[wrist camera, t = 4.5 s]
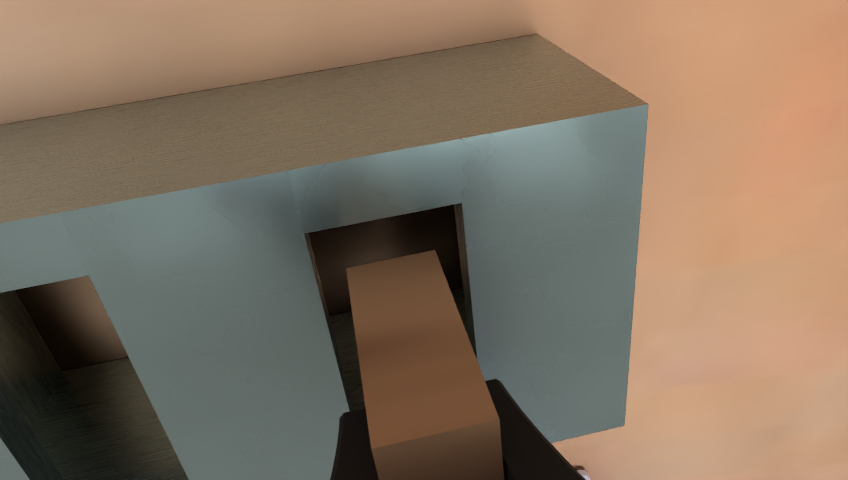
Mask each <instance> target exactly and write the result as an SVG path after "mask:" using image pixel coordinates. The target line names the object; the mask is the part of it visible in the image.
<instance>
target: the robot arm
mask: <svg viewBox="0 0 848 480" xmlns="http://www.w3.org/2000/svg"><path fill="white" fill-rule="evenodd" d="M485 383H486V385H487V388H488V390H489V393H490V396H491V398H492V401H493V404H494V406H495V409H496V411H497V414H498V417H499V420H500V433H501V446H502V458H503V471H504V480H590V477H589V475H588V473H587V471H585V470H576V469H575V468H574V467H573V466H572V465H571V464H570V463H569V462H568V461H567V460H566V459H565V458H564V457H563V456H562V455H561V454H560V453H559V452H558V451H557V450H556V449H555V447H554V446H553V445H552V444H551V443H550V442H549V441H548V440H547V439H546V438H545V437H544V436H543V434H542V433H541V432H540V431H539V430H538V429H537V428H536V426H535V425H534V424H533V423H532V422H531V420H530V419H529V418H528V417H527V416H526V414H525V413H524V412H523V411H522V409H521V408H520V407H519V406H518V404H517V403H516V402H515V400H514V399H513V398H512V396H511V395H510V394H509V392H508V391H507V390H506V388H505V387H504V385H503V384H502V382H501V381H499V380H497V379H492V380H488V381H485ZM330 480H379V478H378V474H377V470H376V466H375V462H374V458H373V454H372V450H371V443H370V436H369V429H368V422H367V415H366V408H363V409H358V410H354V411H349V412H345V413H343V414H342V416H341V417H340V418H339V432H338V440H337V447H336V453H335V458H334V463H333V468H332V473H331V478H330Z"/></svg>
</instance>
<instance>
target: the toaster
mask: <svg viewBox="0 0 848 480" xmlns="http://www.w3.org/2000/svg"><path fill="white" fill-rule="evenodd" d="M647 117H648V103H646V102H644V101H643V100H641V99H640V98H638V97H636V96H635V95H633V94H632V93H630V92H629V91H627V90H625V89H624V88H622V87H621V86H619V85H617V84H616V83H614V82H613V81H611V80H610V79H608V78H606V77H605V76H603V75H602V74H600V73H599V72H597V71H595V70H594V69H592V68H591V67H589V66H587V65H586V64H584V63H583V62H581V61H580V60H578V59H576V58H575V57H573V56H572V55H570V54H569V53H567V52H565V51H564V50H562V49H561V48H559V47H557V46H556V45H554V44H553V43H551V42H550V41H548V40H546V39H545V38H543V37H542V36H540V35H539V34H535V35H529V36H524V37H518V38H512V39H506V40H500V41H494V42H488V43H482V44H476V45H471V46H465V47H459V48H453V49H447V50H441V51H435V52H429V53H423V54H417V55H412V56H406V57H400V58H394V59H388V60H382V61H376V62H370V63H364V64H359V65H353V66H347V67H341V68H335V69H329V70H323V71H317V72H311V73H305V74H300V75H294V76H288V77H282V78H276V79H270V80H264V81H258V82H252V83H246V84H241V85H235V86H229V87H223V88H217V89H211V90H205V91H199V92H193V93H188V94H182V95H176V96H170V97H164V98H158V99H152V100H146V101H140V102H134V103H129V104H123V105H117V106H111V107H105V108H99V109H93V110H87V111H81V112H76V113H70V114H64V115H58V116H52V117H46V118H40V119H34V120H28V121H22V122H17V123H11V124H5V125H0V480H330V478H331V473H332V468H333V463H334V458H335V453H336V447H337V440H338V432H339V418H340V417H341V416H342V414H343V413H345V412H349V411H354V410H358V409H363V408H366V407H365V400H364V393H363V386H362V379H361V372H360V365H359V358H358V350H357V343H356V336H355V329H354V322H353V315H352V311H351V312H346V313H341V314H336V315H331V316H329V313H328V309H327V305H326V301H325V297H324V293H323V289H322V285H321V281H320V277H319V273H318V269H317V265H316V261H315V257H314V253H313V249H312V245H311V241H310V237H309V233H310V232H315V231H320V230H325V229H330V228H336V227H341V226H346V225H351V224H356V223H361V222H366V221H372V220H377V219H382V218H387V217H392V216H397V215H402V214H408V213H413V212H418V211H423V210H428V209H433V208H438V207H444V206H449V205H454V208H455V218H456V227H457V237H458V246H459V256H460V265H461V275H462V284H463V288H461V289H456V290H452V291H451V293H452V296H453V298H454V301H455V304H456V306H457V309H458V312H459V314H460V317H461V319H462V322H463V325H464V327H465V330H466V333H467V335H468V338H469V340H470V343H471V346H472V348H473V351H474V354H475V356H476V359H477V362H478V364H479V367H480V369H481V372H482V375H483V377H484V380H485V381H488V380H492V379H497V380H499V381H501V382H502V384H503V385H504V387H505V388H506V390H507V391H508V392H509V394H510V395H511V396H512V398H513V399H514V400H515V402H516V403H517V404H518V406H519V407H520V408H521V409H522V411H523V412H524V413H525V414H526V416H527V417H528V418H529V419H530V420H531V422H532V423H533V424H534V425H535V426H536V428H537V429H538V430H539V431H540V432H541V433H542V434H543V436H544V437H545V438H546V439H547V440H548V441H549V442H550V443H553V442H557V441H561V440H566V439H570V438H574V437H578V436H583V435H587V434H591V433H595V432H600V431H604V430H608V429H612V428H616V427H621V426H624V424H625V411H626V397H627V384H628V371H629V357H630V344H631V330H632V317H633V304H634V290H635V277H636V264H637V250H638V237H639V224H640V210H641V197H642V184H643V170H644V157H645V144H646V130H647ZM84 276H89V277H90V279H91V281H92V283H93V285H94V287H95V289H96V292H97V294H98V296H99V298H100V300H101V302H102V304H103V306H104V308H105V310H106V312H107V314H108V316H109V318H110V320H111V322H112V324H113V326H114V328H115V330H116V332H117V334H118V336H119V338H120V340H121V342H122V344H123V347H124V349H125V351H126V353H127V355H128V357H129V358H125V359H120V360H115V361H110V362H106V363H101V364H96V365H91V366H86V367H82V368H77V369H72V370H67V371H61V369H60V367H59V366H58V364H57V362H56V360H55V359H54V357H53V355H52V354H51V352H50V350H49V348H48V347H47V345H46V343H45V341H44V340H43V338H42V336H41V334H40V333H39V331H38V329H37V327H36V326H35V324H34V322H33V321H32V319H31V317H30V315H29V314H28V312H27V310H26V308H25V307H24V305H23V303H22V301H21V300H20V298H19V296H18V294H17V293H16V291H15V290H17V289H22V288H27V287H32V286H37V285H43V284H48V283H53V282H58V281H63V280H68V279H73V278H79V277H84Z"/></svg>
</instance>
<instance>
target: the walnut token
mask: <svg viewBox="0 0 848 480" xmlns="http://www.w3.org/2000/svg"><path fill="white" fill-rule="evenodd" d="M346 272H347V279H348V286H349V293H350V301H351V308H352V315H353V322H354V329H355V336H356V343H357V350H358V358H359V365H360V372H361V379H362V386H363V393H364V400H365V407H366V415H367V422H368V429H369V436H370V443H371V450H372V454H373V458H374V462H375V466H376V470H377V474H378V478H379V480H504V471H503V458H502V446H501V433H500V420H499V417H498V414H497V411H496V409H495V406H494V404H493V401H492V398H491V396H490V393H489V390H488V388H487V385H486V383H485V380H484V377H483V375H482V372H481V369H480V367H479V364H478V362H477V359H476V356H475V354H474V351H473V348H472V346H471V343H470V340H469V338H468V335H467V333H466V330H465V327H464V325H463V322H462V319H461V317H460V314H459V312H458V309H457V306H456V304H455V301H454V298H453V296H452V293H451V291H450V288H449V285H448V283H447V280H446V277H445V275H444V272H443V270H442V267H441V264H440V262H439V259H438V256H437V254H436V251H435V250H432V251H427V252H422V253H417V254H412V255H407V256H402V257H397V258H392V259H387V260H382V261H378V262H373V263H368V264H363V265H358V266H353V267H348V268H346Z"/></svg>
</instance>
